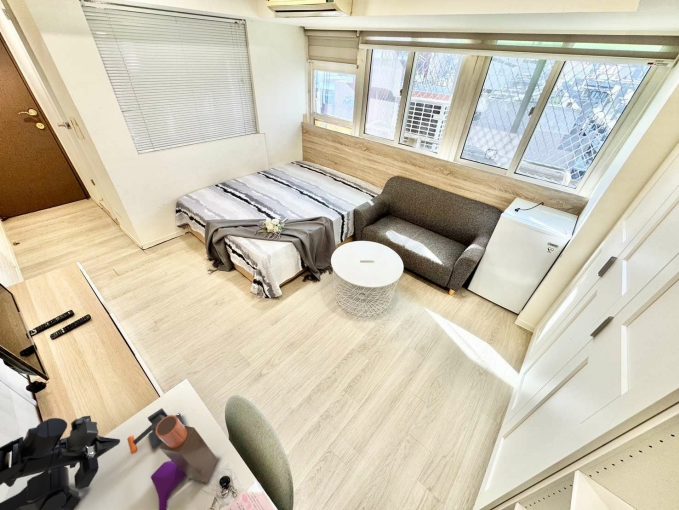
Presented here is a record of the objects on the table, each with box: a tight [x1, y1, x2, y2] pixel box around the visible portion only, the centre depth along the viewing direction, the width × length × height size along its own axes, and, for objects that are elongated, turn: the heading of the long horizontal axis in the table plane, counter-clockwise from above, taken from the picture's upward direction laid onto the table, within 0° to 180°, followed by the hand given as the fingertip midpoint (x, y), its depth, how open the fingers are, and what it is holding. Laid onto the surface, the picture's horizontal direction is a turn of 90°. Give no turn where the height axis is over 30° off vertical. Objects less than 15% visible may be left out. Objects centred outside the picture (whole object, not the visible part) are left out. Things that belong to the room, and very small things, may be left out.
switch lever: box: [127, 414, 165, 455], centre depth 87 cm, size 11×6×2 cm, turn 134°
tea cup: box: [156, 414, 187, 448], centre depth 68 cm, size 5×5×7 cm
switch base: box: [147, 407, 186, 450], centre depth 91 cm, size 10×6×10 cm, turn 134°
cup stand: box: [158, 424, 219, 484], centre depth 77 cm, size 6×6×24 cm
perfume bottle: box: [150, 459, 188, 510], centre depth 77 cm, size 8×8×18 cm
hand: (119, 441), depth 82 cm, fingers closed
